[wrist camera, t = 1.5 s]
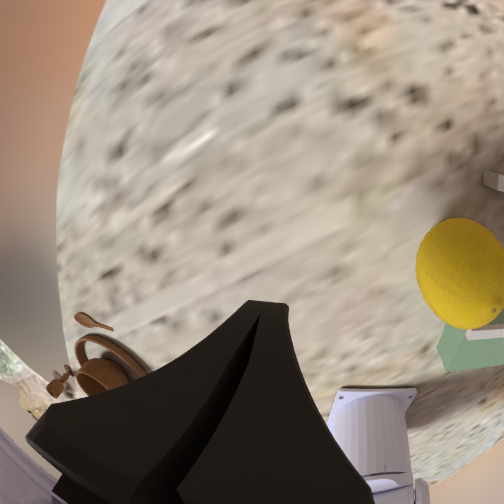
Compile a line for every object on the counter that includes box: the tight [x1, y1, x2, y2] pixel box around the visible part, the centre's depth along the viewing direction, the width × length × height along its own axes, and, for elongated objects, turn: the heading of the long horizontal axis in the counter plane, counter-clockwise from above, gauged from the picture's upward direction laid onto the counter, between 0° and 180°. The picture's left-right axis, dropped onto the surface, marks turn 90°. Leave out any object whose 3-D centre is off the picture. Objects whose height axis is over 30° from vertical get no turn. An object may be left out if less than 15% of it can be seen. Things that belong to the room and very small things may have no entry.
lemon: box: [416, 218, 504, 330], centre depth 12 cm, size 6×6×8 cm
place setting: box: [46, 313, 147, 399], centre depth 28 cm, size 18×20×6 cm
